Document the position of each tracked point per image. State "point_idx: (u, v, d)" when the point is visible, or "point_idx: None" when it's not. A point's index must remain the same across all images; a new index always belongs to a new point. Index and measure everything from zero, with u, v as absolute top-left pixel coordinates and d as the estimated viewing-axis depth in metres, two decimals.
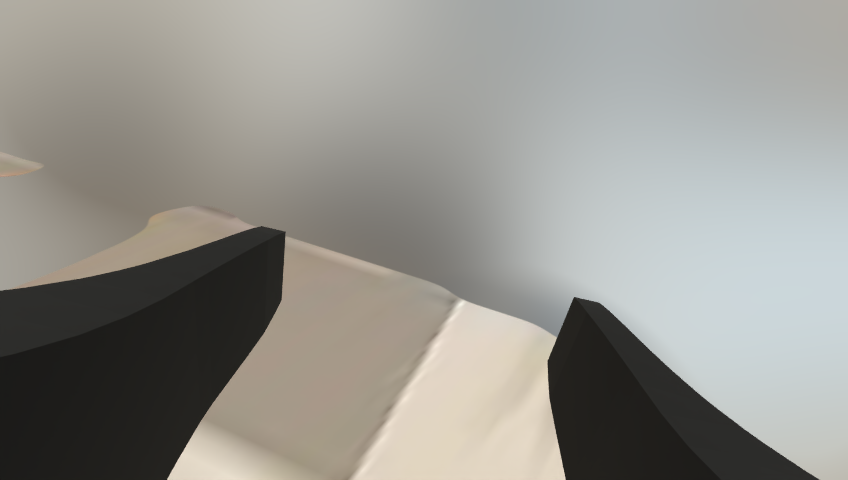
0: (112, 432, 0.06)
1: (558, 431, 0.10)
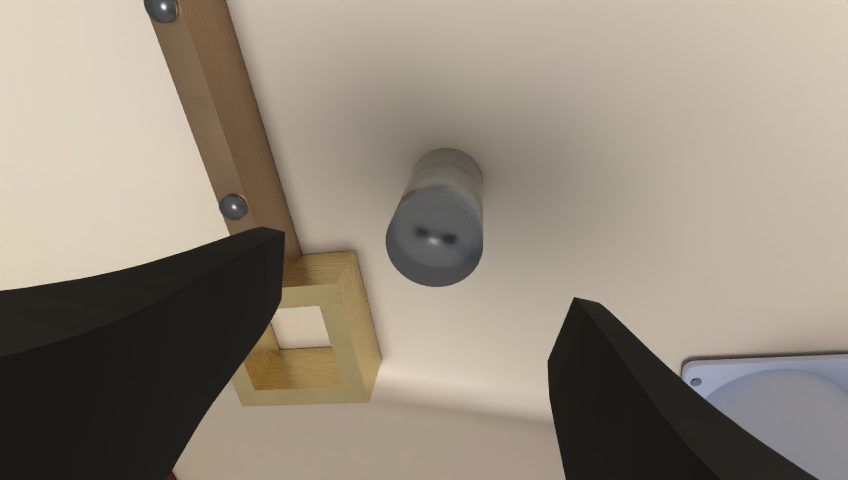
0: (112, 432, 0.06)
1: (559, 432, 0.10)
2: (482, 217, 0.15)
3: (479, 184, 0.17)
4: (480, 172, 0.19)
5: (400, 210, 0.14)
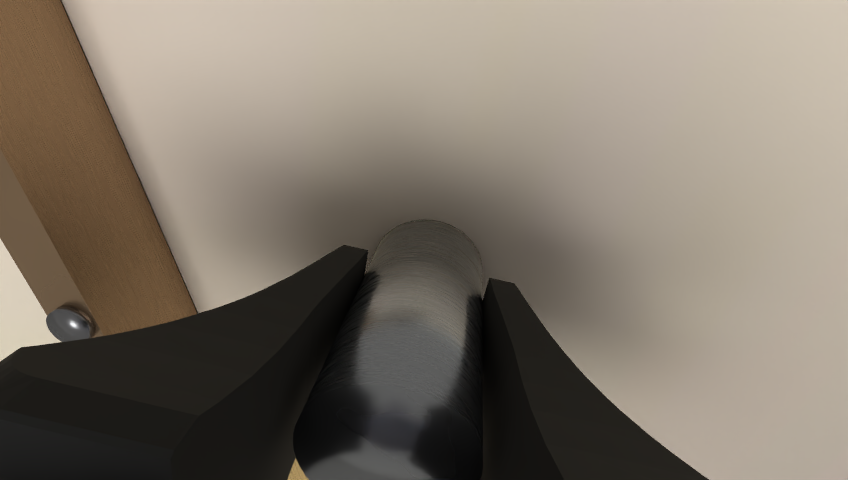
0: (257, 466, 0.06)
1: None
2: (482, 375, 0.08)
3: (476, 290, 0.10)
4: (478, 257, 0.12)
5: (316, 398, 0.07)
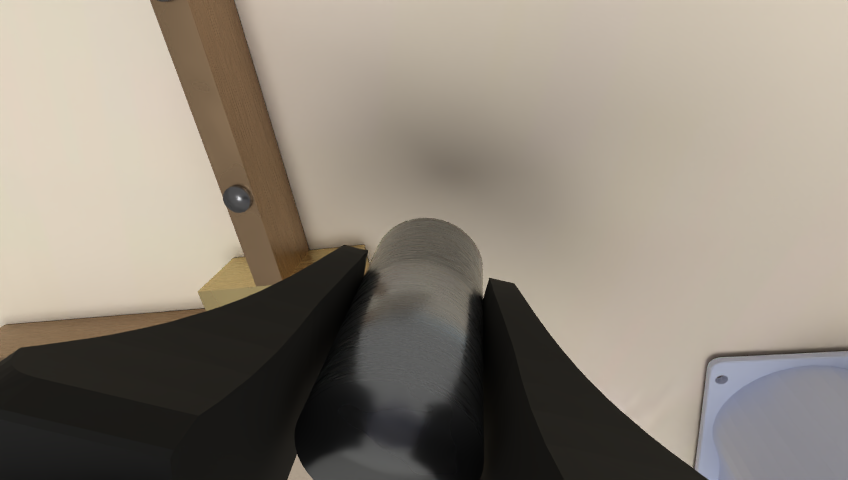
0: (257, 466, 0.06)
1: None
2: (482, 372, 0.08)
3: (477, 288, 0.10)
4: (479, 255, 0.12)
5: (318, 394, 0.07)
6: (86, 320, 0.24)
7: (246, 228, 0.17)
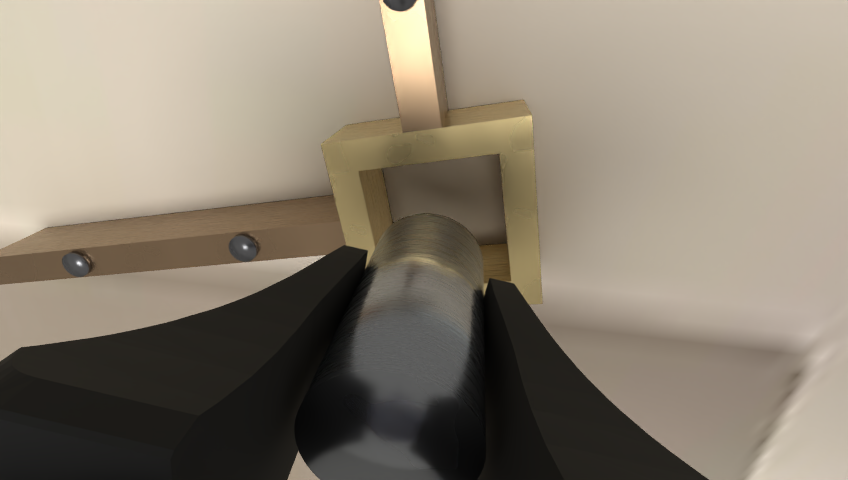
0: (257, 466, 0.06)
1: None
2: (484, 370, 0.08)
3: (480, 286, 0.10)
4: (481, 254, 0.12)
5: (323, 382, 0.07)
6: (149, 217, 0.19)
7: (403, 39, 0.13)
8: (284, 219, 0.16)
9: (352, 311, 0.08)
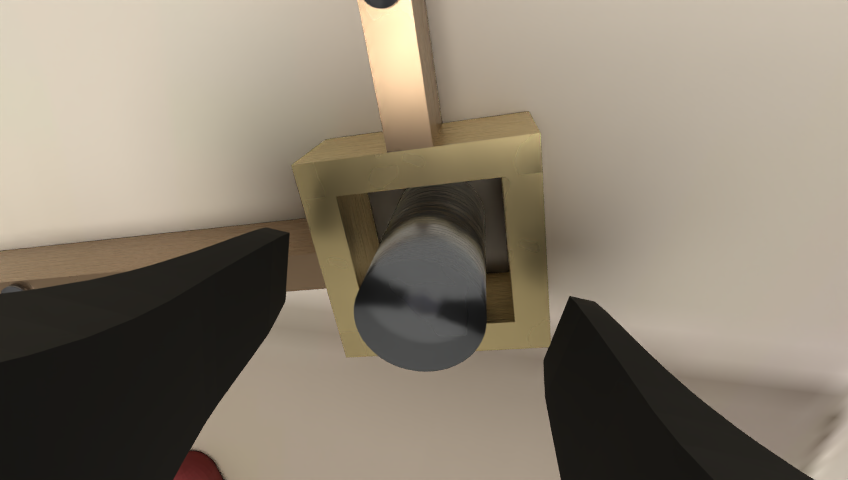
0: (119, 434, 0.06)
1: (554, 431, 0.10)
2: (485, 277, 0.11)
3: (482, 226, 0.13)
4: (483, 207, 0.15)
5: (375, 271, 0.10)
6: (107, 241, 0.17)
7: (386, 43, 0.10)
8: None
9: (389, 235, 0.11)
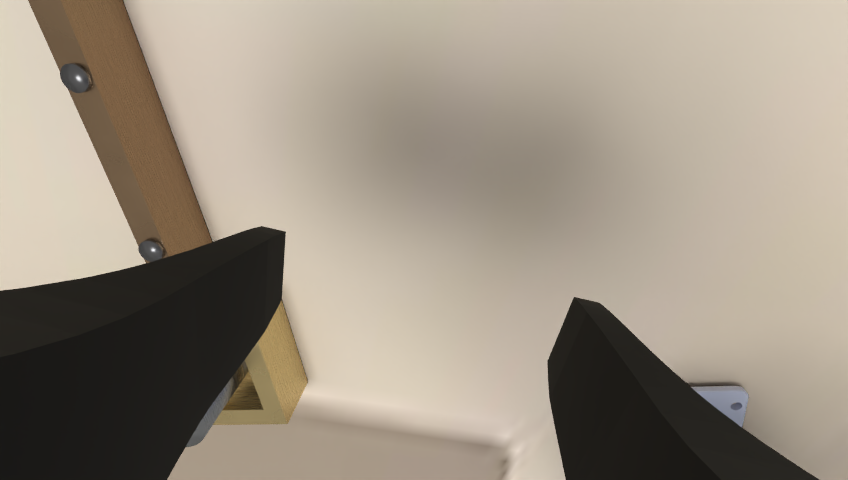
0: (112, 432, 0.06)
1: (559, 432, 0.10)
2: (224, 393, 0.21)
3: None
4: None
5: None
6: None
7: None
8: None
9: None
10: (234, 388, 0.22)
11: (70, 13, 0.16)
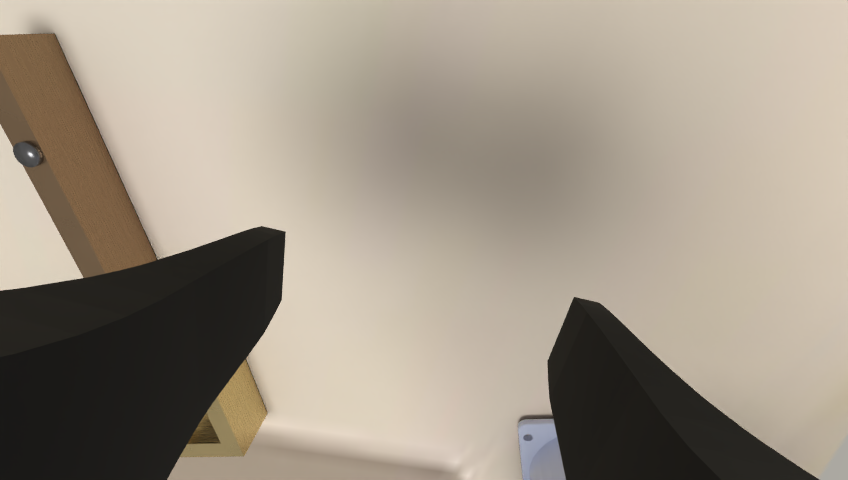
0: (112, 432, 0.06)
1: (559, 432, 0.10)
2: None
3: None
4: None
5: None
6: None
7: None
8: None
9: None
10: None
11: (20, 98, 0.17)
